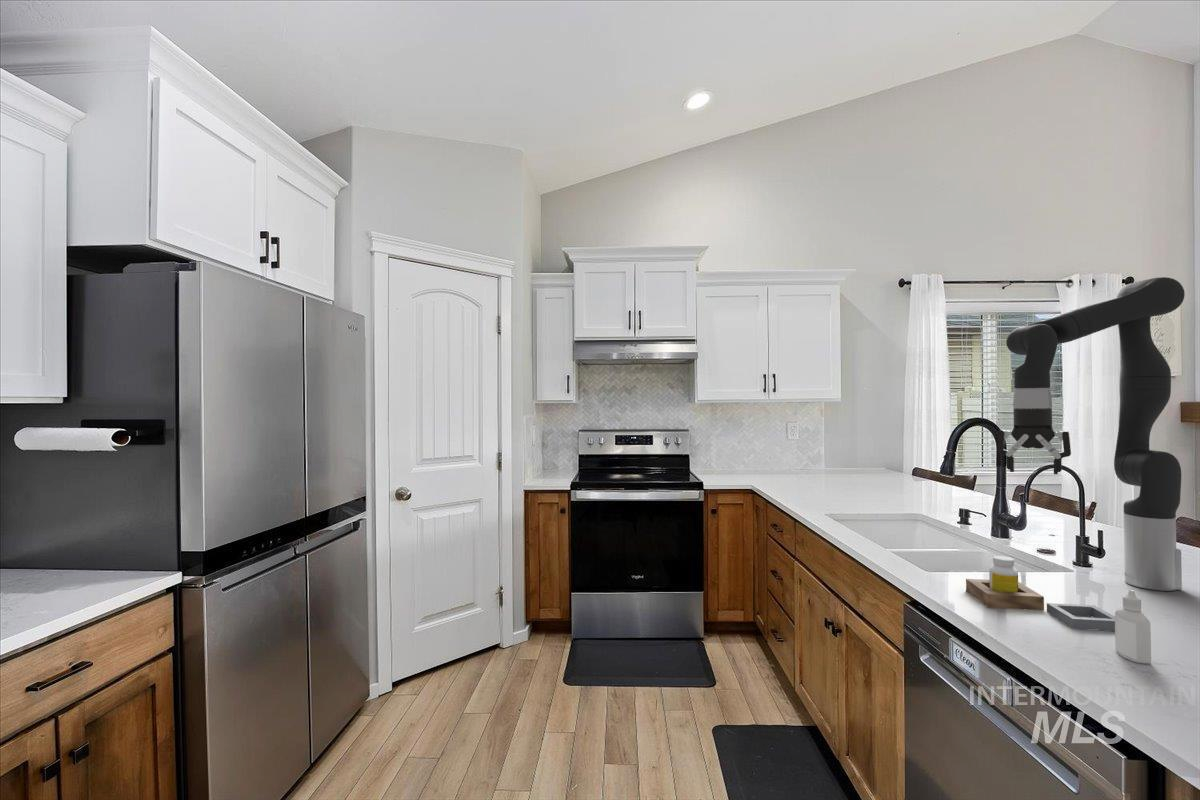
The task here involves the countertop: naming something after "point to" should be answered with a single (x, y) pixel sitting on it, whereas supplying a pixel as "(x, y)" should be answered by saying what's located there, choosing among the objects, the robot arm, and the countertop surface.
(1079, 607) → the holder
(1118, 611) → the eye dropper bottle
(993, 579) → the supplement bottle
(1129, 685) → the countertop surface
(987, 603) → the socket block
